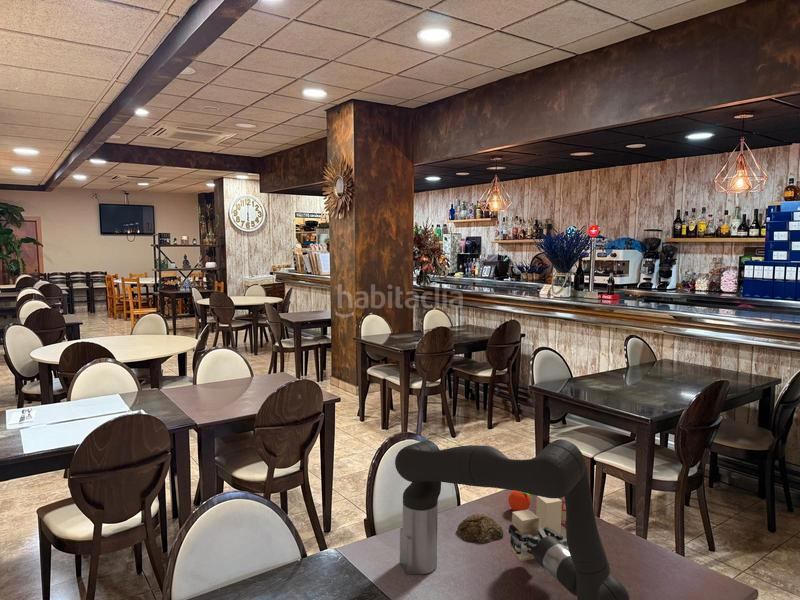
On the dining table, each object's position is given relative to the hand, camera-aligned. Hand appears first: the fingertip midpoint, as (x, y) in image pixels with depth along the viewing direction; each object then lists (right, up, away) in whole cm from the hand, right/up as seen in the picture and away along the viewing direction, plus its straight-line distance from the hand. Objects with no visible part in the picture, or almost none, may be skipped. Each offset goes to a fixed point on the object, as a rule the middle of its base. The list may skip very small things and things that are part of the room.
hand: (519, 526), depth 150 cm
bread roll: (-9, -9, +16) cm, 21 cm away
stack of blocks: (+20, -8, +29) cm, 35 cm away
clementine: (+7, -7, +30) cm, 31 cm away
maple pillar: (+1, -7, -2) cm, 7 cm away
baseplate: (+13, -9, +8) cm, 17 cm away
